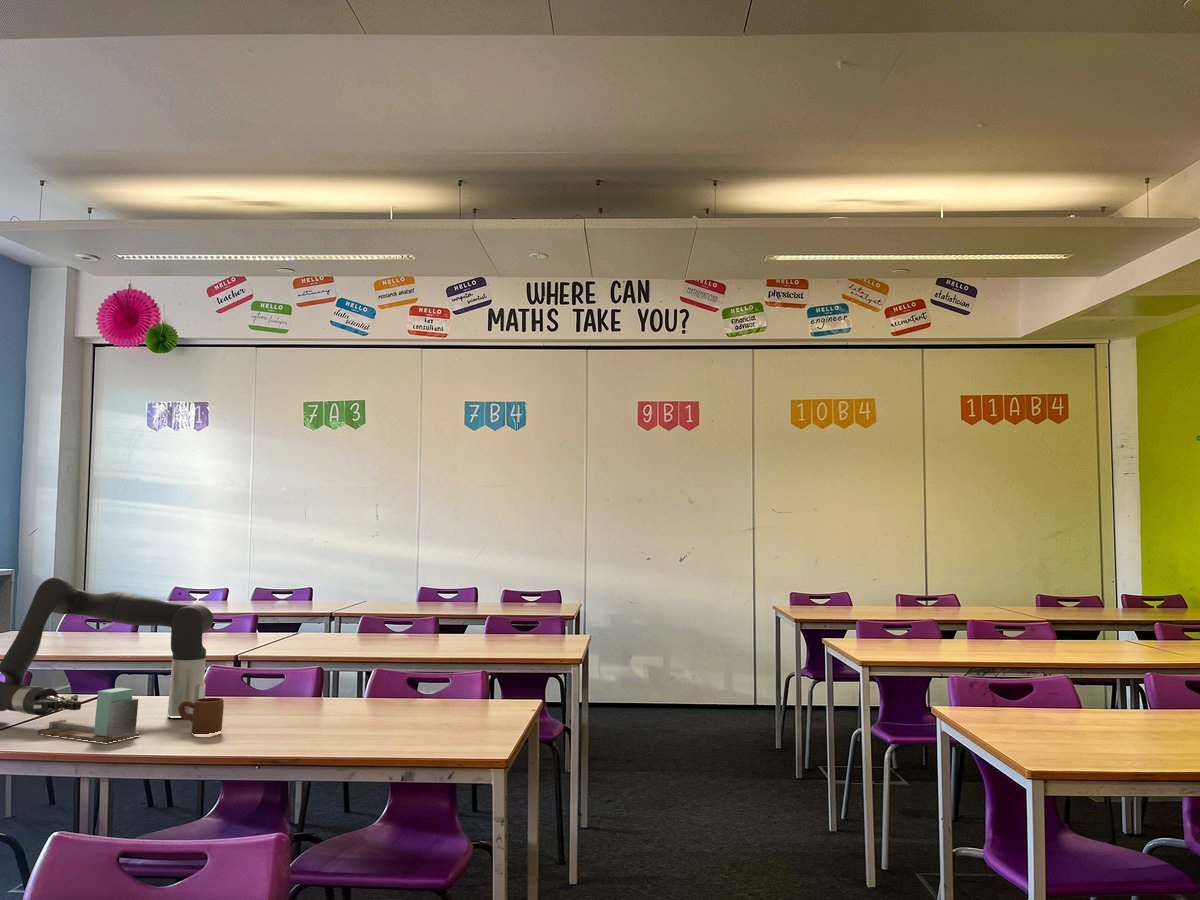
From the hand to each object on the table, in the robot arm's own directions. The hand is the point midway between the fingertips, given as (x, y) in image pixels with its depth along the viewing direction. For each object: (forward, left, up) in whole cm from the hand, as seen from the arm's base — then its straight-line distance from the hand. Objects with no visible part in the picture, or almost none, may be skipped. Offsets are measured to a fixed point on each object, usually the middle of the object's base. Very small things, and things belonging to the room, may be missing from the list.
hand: (78, 705), depth 226 cm
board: (-4, +2, -7) cm, 9 cm away
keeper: (-12, +7, -6) cm, 15 cm away
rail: (-4, +2, -6) cm, 8 cm away
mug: (-32, +2, -8) cm, 33 cm away
